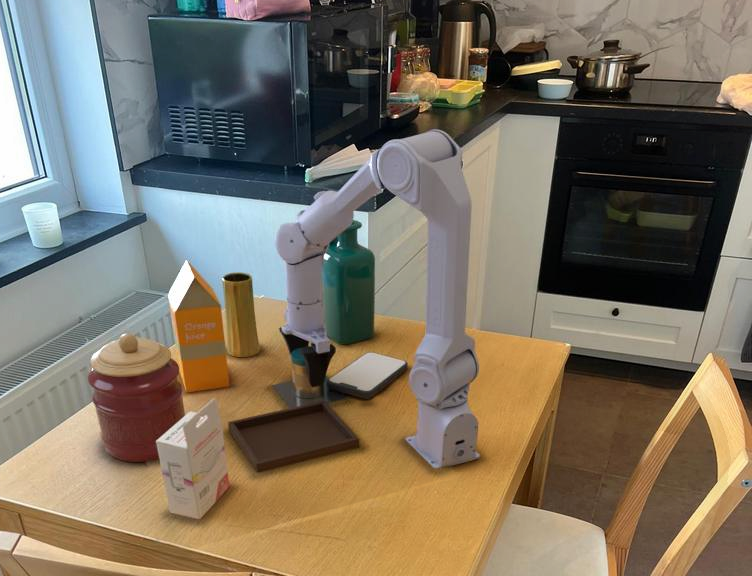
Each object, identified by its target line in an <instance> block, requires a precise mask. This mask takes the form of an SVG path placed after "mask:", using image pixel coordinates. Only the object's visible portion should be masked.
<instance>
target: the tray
mask: <svg viewBox="0 0 752 576" xmlns="http://www.w3.org/2000/svg"><path fill="white" fill-rule="evenodd" d="M227 424H228V431H229V432H230V434H231V436H232V437H233V439H234V440H235V442H236V443H237V445H238V446H239V447H240V449H241V451H242V452H243V454H244V455H245V457H246V458H247V460H248V461H249V463H250V464H251V466H252V467H253V469H254V471H255V472H256V473H261V472H265V471H268V470H273V469H277V468H281V467H286V466H289V465H294V464H296V463H301V462H305V461H309V460H313V459H317V458H320V457H325V456H329V455H333V454H336V453H341V452H344V451H348V450H352V449H353V450H354V449H357V448H360V437H358V435H356V434H355V432H354V431H353V430H352V429H351V428H350V427H349V425H348V424H347V423H346V422H345V421H344V420H343V419H342V418H341V416H339V415H338V414H337V412H335V410H334V409H333V408H332V407H331V406H330V405H329V403H326V402H325V401H320V402H316V403H311V404H307V405H302V406H298V407H293V408H289V407H288V408H284V409H281V410H280V409H279V410H276V411H271V412H267V413H262V414H258V415H253V416H249V417H245V418H240V419H236V420H231V421H228V422H227Z"/></svg>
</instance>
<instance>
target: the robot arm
mask: <svg viewBox="0 0 752 576" xmlns="http://www.w3.org/2000/svg"><path fill="white" fill-rule="evenodd" d="M385 189H386V190H388V191H389V192H390V193H391V194H393V195H394V196H396V197H398V198H399V199H401V200H402V201H403V202H405V203H407V204H408V205H410V206H411V207H413V208H415V209H416V210H418V211H419V212H420V213H422V215H423V216H424V217H425V218H426V219H427V243H426V244H427V245H426V246H427V248H426V251H427V252H426V288H425V289H426V290H425V291H426V293H425V294H426V295H425V334H424V335H423V338H422V340H421V342H420V343H419V345H418V347H417V349H416V351H415V353H414V363H413V366H412V368H411V370H410V372H409V375H408V383H409V387H410V390H411V392H412V394H413V395H414V396H415V398H416V401H417V419H416V434H415V435H410V436H407V437H405V438H404V439H405V441H406V442H407V443H408V444H409V445H410V446H411V447H412V448H413V449H414V450H415V451H416V452H417V453H418V454H419V455H420V456H421V458H423V459H424V460H425V461H426V463H428V464H429V465H430V466H431V467H432V468H433V469H435V470H436V469H441V468H444V467H448V466H450V467H453V466H456V465H461V464H464V463H468V462H470V461H471V462H472V461H474V460H478V459H480V458H481V454H480V453H479V452H478V451H477V443H478V432H479V421H478V418H477V417H476V415H475V414H474V413H473V411H472V410H471V408H470V405H469V391H470V387H471V383H473V382H474V381H475V380H476V379H477V377H478V376H479V372H480V362H479V358H478V356H477V353H476V340H475V339H474V337H472V336H471V335H469V334H468V333H467V332H466V318H467V301H468V300H467V299H468V284H469V283H468V281H469V264H470V263H469V262H470V245H471V244H470V242H471V227H472V226H471V224H472V208H473V207H472V198H471V194H470V191H469V188H468V185H467V181H466V179H465V175H464V172H463V149H462V148H461V147H460V146H459V145H458V144H457V142H456V141H455V140H454V139H453V138H452V137H451V135H449V134H448V133H447V132H445V131H443V130H441V129H436V128H435V129H430V130H428V131H426V132H424V133H420V134H416V135H412V136H407V137H404V138H400V139H399V138H397V139H391V140H388V141H387V142H385V143H384V144H383V145H382V147H381V148H379V149H377V150H375V151H373V152H372V153H371V155H370V157H369V159H367V161H366V162H364V164H363V165H362V166H361V167H360V168H359V169H358V170H357V171H356V172H355V173H354V174H353V176H352V177H351V178H349V180H347V182H345V184H344V185H342V187H341V188H340V189H339V190H338V191H337V190H327V191H326V190H323V191H318V192H316V194H315V195H314V196H313V199H314V202H312V203H311V204H310V206H308V207H307V208H306V209H303V210H299V212H298V213H297V214H296V217H297V218H295V221H292V222H285V223H282V224H280V226H279V227H278V229H277V230H276V233H275V235H274V236H275V237H274V243H275V249H276V251H277V253H278V255H279V257H280V258H281V259H282V260H283V261H284V275H285V276H284V277H285V287H286V288H285V291H286V309H284V310H283V311H284V321H285V322H286V325H282V326H280V327H279V328H278V331H279V333H280V334H281V336H282V338H283V340H284V342H285V344H286V347H287V350H288V353H289V357H290V358H291V353H292V351H294V350H295V349H298V348H299V351H300V353H301V354H302V356H303V358H304V360H305V363H306V367H307V372H308V377H309V382H310V385H311V386H312V387H317V386H322V385H324V381H325V377H326V376H327V372H328V368H329V365H330V362H331V360H332V359H333V357H334V356H335V354H336V351H337V348H336V346H335V345H334V344H333V343H330V339H329V337H328V336H327V335H326V328H325V323H324V318H323V286H322V266H323V264H324V256H325V253H326V252H327V250H328V248H329V244H330V242H331V241H332V240H334V239H335V238H336V237H337V236H338V235H340V234H341V233H342V232H343V231H344V230H346V229H347V228H348V227H349V226H350V225H351V224H352V222H353V220H354V219H355V213H354V212H355V210H357V209H358V208H360V207H361V206H362V205H363V204H365V203H366V202H367V201H369V200H370V199H371V198H373V197H374V196H375V195H377V194H378V193H379V192H381V191H382V190H385ZM302 347H303V348H302Z"/></svg>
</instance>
